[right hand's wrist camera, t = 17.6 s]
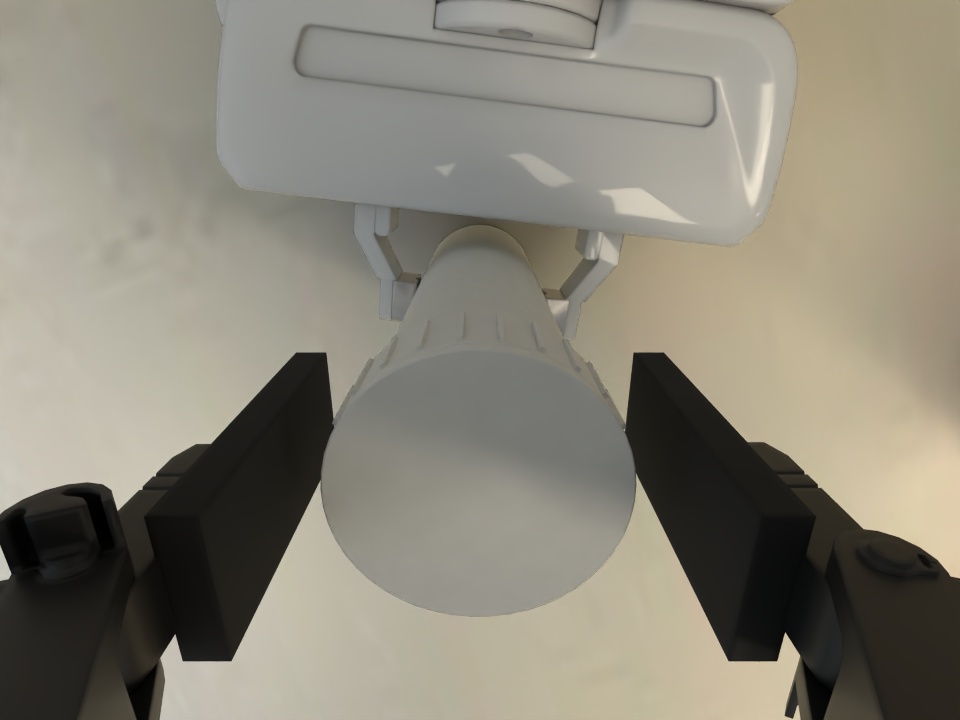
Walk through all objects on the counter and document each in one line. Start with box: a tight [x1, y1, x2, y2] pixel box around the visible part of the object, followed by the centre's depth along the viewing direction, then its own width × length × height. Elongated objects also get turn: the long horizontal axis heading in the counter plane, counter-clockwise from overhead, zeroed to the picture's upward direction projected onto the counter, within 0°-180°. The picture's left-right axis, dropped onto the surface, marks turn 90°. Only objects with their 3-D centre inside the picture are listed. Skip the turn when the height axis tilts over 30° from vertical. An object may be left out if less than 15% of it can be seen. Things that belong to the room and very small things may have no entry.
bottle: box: [396, 225, 564, 340], centre depth 19 cm, size 5×5×19 cm
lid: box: [321, 312, 636, 617], centre depth 11 cm, size 6×6×2 cm
